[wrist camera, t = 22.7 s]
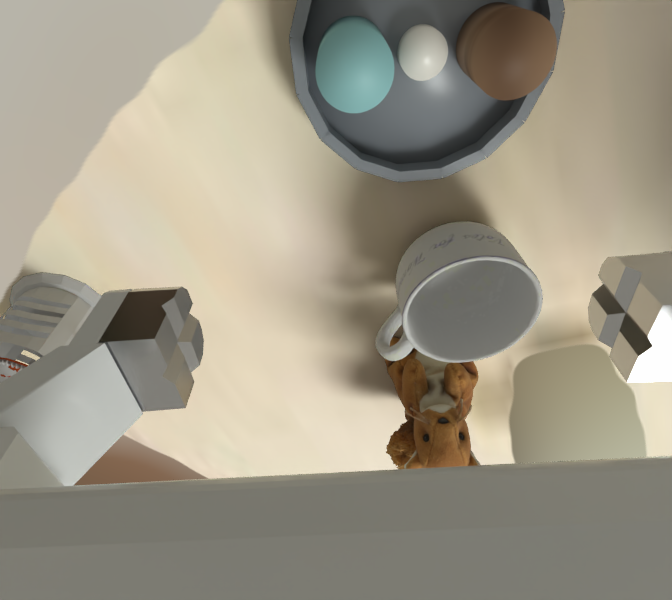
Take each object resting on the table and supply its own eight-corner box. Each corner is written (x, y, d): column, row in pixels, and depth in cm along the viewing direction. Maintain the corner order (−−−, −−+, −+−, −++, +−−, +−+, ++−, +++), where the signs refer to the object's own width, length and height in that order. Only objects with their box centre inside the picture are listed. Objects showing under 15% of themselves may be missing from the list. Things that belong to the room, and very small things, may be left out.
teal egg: (386, 12, 28) (394, 22, 24) (386, 89, 31) (394, 110, 27) (314, 18, 28) (311, 30, 24) (321, 95, 31) (319, 116, 27)
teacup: (490, 183, 36) (523, 233, 30) (526, 280, 42) (560, 338, 36) (339, 255, 40) (340, 312, 34) (390, 334, 46) (399, 395, 40)
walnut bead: (532, -2, 28) (565, 6, 24) (520, 77, 31) (548, 96, 27) (458, 6, 28) (478, 14, 24) (453, 84, 31) (470, 103, 27)
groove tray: (573, -137, 25) (594, -144, 23) (522, 158, 35) (534, 171, 33) (275, -103, 26) (270, -108, 24) (310, 176, 36) (308, 189, 34)
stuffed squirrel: (483, 320, 45) (528, 431, 35) (460, 411, 54) (490, 521, 43) (384, 321, 45) (399, 432, 35) (376, 411, 54) (386, 521, 43)
